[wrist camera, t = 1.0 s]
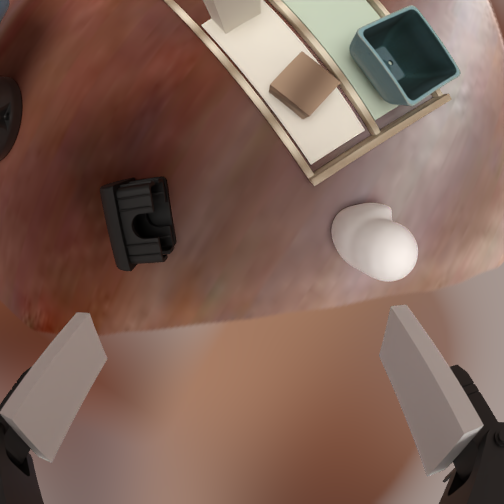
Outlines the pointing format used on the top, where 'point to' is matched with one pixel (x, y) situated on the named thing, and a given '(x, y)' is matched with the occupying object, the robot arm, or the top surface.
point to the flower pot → (403, 57)
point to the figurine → (374, 241)
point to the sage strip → (342, 41)
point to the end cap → (138, 221)
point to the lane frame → (376, 134)
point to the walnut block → (303, 85)
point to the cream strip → (278, 71)
